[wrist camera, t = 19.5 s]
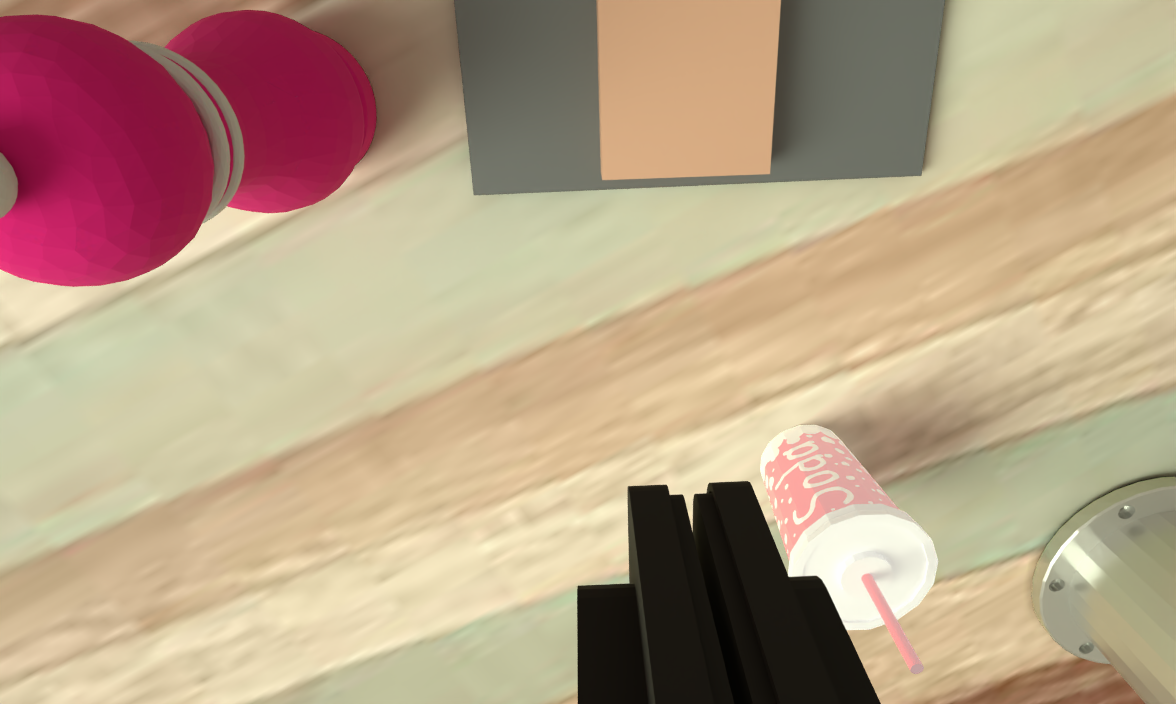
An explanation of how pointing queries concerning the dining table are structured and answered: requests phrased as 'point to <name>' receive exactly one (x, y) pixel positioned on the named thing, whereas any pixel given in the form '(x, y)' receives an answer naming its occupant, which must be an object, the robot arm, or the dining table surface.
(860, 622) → the beverage cup
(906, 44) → the mat
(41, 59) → the pepper mill
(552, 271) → the dining table surface
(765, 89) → the tile
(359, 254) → the dining table surface
